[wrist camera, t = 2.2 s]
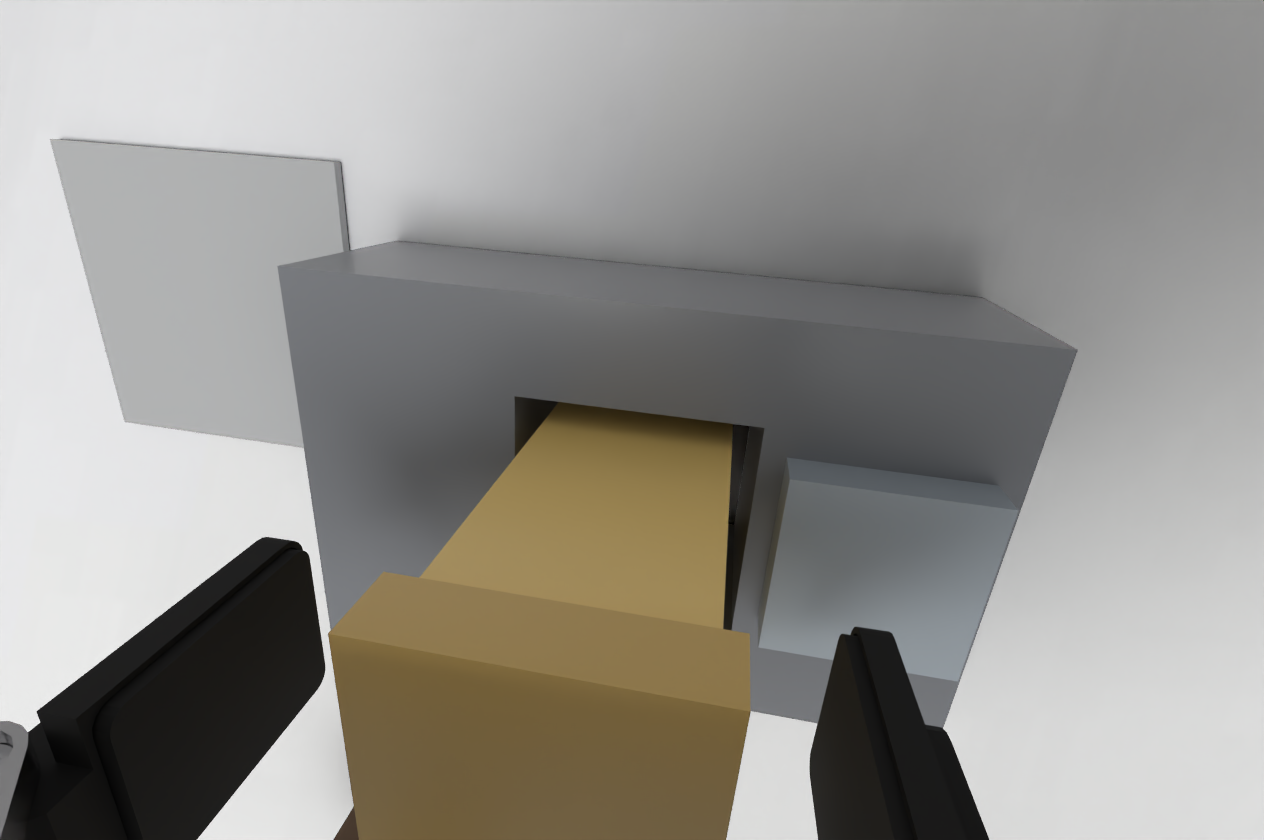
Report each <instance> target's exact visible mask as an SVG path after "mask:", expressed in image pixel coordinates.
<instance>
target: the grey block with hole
mask: <svg viewBox="0 0 1264 840" xmlns="http://www.w3.org/2000/svg"><path fill="white" fill-rule="evenodd" d="M277 267H278V274H279V281H280V287H281V294H282V301H283V308H284V315H285V321H286V328H287V335H288V342H289V349H290V356H291V362H292V369H293V376H294V383H295V390H296V396H297V403H298V410H299V417H300V424H301V430H302V437H303V444H304V451H305V458H306V465H307V471H308V478H309V485H310V492H311V499H312V505H313V512H314V519H315V526H316V533H317V539H318V546H319V553H320V560H321V567H322V574H323V580H324V587H325V594H326V601H327V608H328V614H329V621H330V628H331V630H332V629H333V628H334V627H335V625H336V624H337V623H338V622H339V621H340V620H341V619H342V618H343V617H344V615H345V614H346V613H347V612H348V611H349V610H350V609H351V608H352V606H353V605H354V604H355V603H356V602H357V601H358V600H359V599H360V598H361V596H362V595H363V594H364V593H365V592H366V591H367V590H368V589H369V587H370V586H371V585H372V584H373V583H374V582H375V581H376V580H377V579H378V577H379V576H380V575H381V574H382V573H383V572H388V573H394V574H400V575H406V576H412V577H418V578H419V577H420V576H421V575H422V574H423V572H424V571H425V570H426V569H427V567H428V566H429V565H430V564H431V562H432V561H433V560H434V559H435V557H436V556H437V555H438V554H439V552H440V551H441V550H442V549H443V547H444V546H445V545H446V544H447V542H448V541H449V540H450V538H451V537H452V536H453V535H454V533H455V532H456V531H457V530H458V528H459V527H460V526H461V525H462V523H463V522H464V521H465V520H466V518H467V517H468V516H469V515H470V513H471V512H472V511H473V510H474V508H475V507H476V506H477V504H478V503H479V502H480V501H481V499H482V498H483V497H484V496H485V494H486V493H487V492H488V491H489V489H490V488H491V487H492V486H493V484H494V483H495V482H496V481H497V479H498V478H499V477H500V476H501V474H502V473H503V472H504V471H505V469H506V468H507V467H508V465H509V464H510V463H511V462H512V460H513V459H514V458H515V457H516V455H517V454H518V453H519V452H520V450H521V449H522V448H523V447H524V445H525V444H526V443H527V442H528V440H529V439H530V438H531V437H532V435H533V434H534V433H535V432H536V430H537V429H538V428H539V426H540V425H541V424H542V423H543V421H544V420H545V419H546V418H547V416H548V415H549V414H550V413H551V411H552V410H553V409H554V408H555V406H556V405H557V404H558V403H559V402H564V403H572V404H580V405H588V406H596V407H603V408H611V409H619V410H627V411H635V412H643V413H651V414H658V415H666V416H674V417H682V418H690V419H698V420H706V421H714V422H721V423H729V424H737V425H745V426H749V433H748V439H747V446H746V452H745V459H744V465H743V472H742V478H741V485H740V491H739V498H738V504H737V511H736V517H735V524H734V525H731V524H728V538H727V559H726V579H725V600H724V620H723V629H725V630H731V631H737V632H743V633H749V634H750V711H754V712H760V713H765V714H771V715H776V716H781V717H787V718H792V719H798V720H803V721H808V722H814V723H818V720H819V716H820V712H821V708H822V704H823V700H824V696H825V692H826V688H827V684H828V680H829V675H830V671H831V667H832V663H833V659H834V655H835V651H836V647H837V643H838V639H839V636H840V635H841V634H848V635H851V632H852V630H853V628H854V627H863V628H869V629H876V630H882V631H889V632H891V633H892V634H893V636H894V638H895V641H896V644H897V646H898V649H899V652H900V655H901V658H902V661H903V663H904V666H905V669H906V672H907V675H908V678H909V680H910V683H911V686H912V689H913V692H914V695H915V697H916V700H917V703H918V706H919V709H920V712H921V715H922V717H923V720H924V723H925V725H931V726H937V727H942V728H943V727H944V724H945V721H946V718H947V715H948V713H949V710H950V707H951V704H952V701H953V699H954V696H955V693H956V690H957V687H958V685H959V682H960V679H961V676H962V673H963V670H964V668H965V665H966V662H967V659H968V656H969V654H970V651H971V648H972V645H973V642H974V640H975V637H976V634H977V631H978V628H979V625H980V623H981V620H982V617H983V614H984V611H985V609H986V606H987V603H988V600H989V597H990V595H991V592H992V589H993V586H994V583H995V581H996V578H997V575H998V572H999V569H1000V566H1001V564H1002V561H1003V558H1004V555H1005V552H1006V550H1007V547H1008V544H1009V541H1010V538H1011V536H1012V533H1013V530H1014V527H1015V524H1016V521H1017V519H1018V516H1019V513H1020V510H1021V507H1022V505H1023V502H1024V499H1025V496H1026V493H1027V491H1028V488H1029V485H1030V482H1031V479H1032V477H1033V474H1034V471H1035V468H1036V465H1037V462H1038V460H1039V457H1040V454H1041V451H1042V448H1043V446H1044V443H1045V440H1046V437H1047V434H1048V432H1049V429H1050V426H1051V423H1052V420H1053V417H1054V415H1055V412H1056V409H1057V406H1058V403H1059V401H1060V398H1061V395H1062V392H1063V389H1064V387H1065V384H1066V381H1067V378H1068V375H1069V372H1070V370H1071V367H1072V364H1073V361H1074V358H1075V356H1076V353H1077V349H1075V348H1073V347H1072V346H1070V345H1068V344H1066V343H1064V342H1062V341H1061V340H1059V339H1057V338H1055V337H1053V336H1052V335H1050V334H1048V333H1046V332H1044V331H1042V330H1041V329H1039V328H1037V327H1035V326H1033V325H1032V324H1030V323H1028V322H1026V321H1024V320H1022V319H1021V318H1019V317H1017V316H1015V315H1013V314H1012V313H1010V312H1008V311H1006V310H1004V309H1002V308H1001V307H999V306H997V305H995V304H993V303H992V302H990V301H988V300H986V299H984V298H982V297H972V296H961V295H951V294H941V293H930V292H920V291H909V290H899V289H889V288H878V287H868V286H858V285H847V284H837V283H827V282H816V281H806V280H796V279H785V278H775V277H765V276H754V275H744V274H734V273H723V272H713V271H702V270H692V269H682V268H671V267H661V266H651V265H640V264H630V263H620V262H609V261H599V260H589V259H578V258H568V257H558V256H547V255H537V254H526V253H516V252H506V251H495V250H485V249H475V248H464V247H454V246H444V245H433V244H423V243H413V242H402V241H393V242H389V243H384V244H379V245H374V246H370V247H365V248H360V249H355V250H351V251H346V252H341V253H337V254H332V255H327V256H322V257H318V258H313V259H308V260H303V261H299V262H294V263H289V264H284V265H280V266H277Z"/></svg>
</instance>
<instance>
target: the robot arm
mask: <svg viewBox="0 0 1264 840" xmlns="http://www.w3.org/2000/svg"><path fill="white" fill-rule="evenodd" d="M324 674H325V661H324V654H323V647H322V640H321V633H320V627H319V620H318V613H317V606H316V599H315V592H314V585H313V578H312V572H311V565H310V558H309V555H308V554H307V552H305V551H303V549H302V546H301V545H300V544H299V543H298V542H295V541H290V540H283V539H277V538H270V537H265V538H261V539H259V540H258V541H256V542H255V543H254V544H252V545H251V546H250V547H249V548H247V549H246V550H245V551H243V552H242V553H241V554H239V555H238V556H237V557H236V558H234V559H233V560H232V561H230V562H229V563H228V564H227V565H225V566H224V567H223V568H221V569H220V570H219V571H218V572H216V573H215V574H214V575H212V576H211V577H210V578H208V579H207V580H206V581H205V582H203V583H202V584H201V585H199V586H198V587H197V588H196V589H194V590H193V591H192V592H190V593H189V594H188V595H186V596H185V597H184V598H183V599H181V600H180V601H179V602H177V603H176V604H175V605H174V606H172V607H171V608H170V609H168V610H167V611H166V612H165V613H163V614H162V615H161V616H159V617H158V618H157V619H155V620H154V621H153V622H152V623H150V624H149V625H148V626H146V627H145V628H144V629H143V630H141V631H140V632H139V633H137V634H136V635H135V636H133V637H132V638H131V639H130V640H128V641H127V642H126V643H124V644H123V645H122V646H121V647H119V648H118V649H117V650H115V651H114V652H113V653H112V654H110V655H109V656H108V657H106V658H105V659H104V660H102V661H101V662H100V663H99V664H97V665H96V666H95V667H93V668H92V669H91V670H90V671H88V672H87V673H86V674H84V675H83V676H82V677H80V678H79V679H78V680H77V681H75V682H74V683H73V684H71V685H70V686H69V687H68V688H66V689H65V690H64V691H62V692H61V693H60V694H59V695H57V696H56V697H55V698H53V699H52V700H51V701H49V702H48V703H47V704H46V705H44V706H43V707H42V708H40V709H39V710H38V711H37V714H38V717H39V719H40V722H41V723H39V724H38V725H37V726H36V727H34V728H33V729H32V730H31V731H29V732H27V731H26V730H25V729H24V727H23V726H22V725H19V724H16V723H13V722H10V721H0V840H197V839H198V837H199V836H200V835H201V834H202V832H203V831H204V830H205V829H206V827H207V826H208V825H209V824H210V822H211V821H212V820H213V819H214V817H215V816H216V815H217V814H218V812H219V811H220V810H221V809H222V808H223V806H224V805H225V804H226V803H227V801H228V800H229V799H230V798H231V796H232V795H233V794H234V793H235V791H236V790H237V789H238V788H239V786H240V785H241V784H242V783H243V781H244V780H245V779H246V778H247V776H248V775H249V774H250V773H251V771H252V770H253V769H254V768H255V766H256V765H257V764H258V763H259V761H260V760H261V759H262V758H263V756H264V755H265V754H266V753H267V751H268V750H269V749H270V748H271V746H272V745H273V744H274V743H275V742H276V740H277V739H278V738H279V737H280V735H281V734H282V733H283V732H284V730H285V729H286V728H287V727H288V725H289V724H290V723H291V722H292V720H293V719H294V718H295V717H296V715H297V714H298V713H299V712H300V710H301V709H302V708H303V707H304V705H305V704H306V703H307V702H308V700H309V699H310V698H311V697H312V695H313V694H314V693H315V692H316V690H317V689H318V688H319V686H320V684H321V682H322V680H323V677H324ZM810 780H811V788H812V795H813V803H814V810H815V818H816V826H817V833H818V840H989V838H988V835H987V833H986V830H985V827H984V825H983V822H982V820H981V817H980V815H979V812H978V809H977V807H976V804H975V802H974V799H973V796H972V794H971V791H970V789H969V786H968V784H967V781H966V778H965V776H964V773H963V771H962V768H961V766H960V763H959V760H958V758H957V755H956V753H955V750H954V747H953V745H952V742H951V740H950V738H949V736H948V734H947V732H946V731H945V730H944V729H943V728H942V727H937V726H931V725H925V723H924V720H923V717H922V715H921V712H920V709H919V706H918V703H917V700H916V697H915V695H914V692H913V689H912V686H911V683H910V680H909V678H908V675H907V672H906V669H905V666H904V663H903V661H902V658H901V655H900V652H899V649H898V646H897V644H896V641H895V638H894V636H893V634H892V633H891V632H889V631H882V630H876V629H869V628H863V627H854V628H853V630H852V632H851V635H848V634H841V635H840V636H839V639H838V643H837V647H836V651H835V655H834V659H833V663H832V667H831V671H830V675H829V680H828V684H827V688H826V692H825V696H824V700H823V704H822V708H821V712H820V716H819V720H818V724H817V729H816V733H815V737H814V741H813V745H812V749H811V754H810Z"/></svg>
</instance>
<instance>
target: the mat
mask: <svg viewBox="0 0 1264 840" xmlns="http://www.w3.org/2000/svg"><path fill="white" fill-rule="evenodd" d="M50 141H51V145H52V149H53V153H54V156H55V160H56V164H57V168H58V171H59V175H60V179H61V183H62V187H63V190H64V194H65V198H66V202H67V206H68V209H69V213H70V217H71V221H72V224H73V228H74V232H75V236H76V240H77V243H78V247H79V251H80V255H81V259H82V262H83V266H84V270H85V274H86V277H87V281H88V285H89V289H90V293H91V296H92V300H93V304H94V308H95V312H96V315H97V319H98V323H99V327H100V330H101V334H102V338H103V342H104V346H105V349H106V353H107V357H108V361H109V365H110V368H111V372H112V376H113V380H114V383H115V387H116V391H117V395H118V399H119V402H120V406H121V410H122V414H123V418H124V421H125V422H129V423H136V424H142V425H149V426H156V427H163V428H170V429H177V430H184V431H191V432H198V433H205V434H212V435H219V436H226V437H232V438H239V439H246V440H253V441H260V442H267V443H274V444H281V445H288V446H295V447H302V448H304V444H303V437H302V430H301V424H300V417H299V410H298V403H297V396H296V390H295V383H294V376H293V369H292V362H291V356H290V349H289V342H288V335H287V328H286V321H285V315H284V308H283V301H282V294H281V287H280V281H279V274H278V267H277V266H280V265H284V264H289V263H294V262H299V261H303V260H308V259H313V258H318V257H322V256H327V255H332V254H337V253H341V252H346V251H349V242H348V232H347V222H346V212H345V202H344V193H343V183H342V173H341V163H340V162H333V161H321V160H308V159H296V158H283V157H271V156H259V155H246V154H234V153H221V152H209V151H196V150H184V149H172V148H159V147H147V146H134V145H122V144H109V143H97V142H85V141H72V140H59V139H50Z"/></svg>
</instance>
